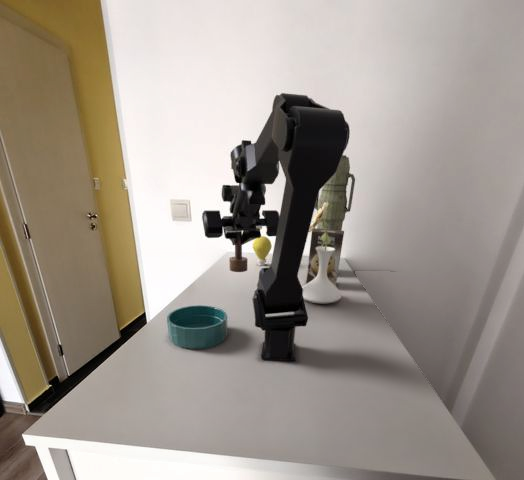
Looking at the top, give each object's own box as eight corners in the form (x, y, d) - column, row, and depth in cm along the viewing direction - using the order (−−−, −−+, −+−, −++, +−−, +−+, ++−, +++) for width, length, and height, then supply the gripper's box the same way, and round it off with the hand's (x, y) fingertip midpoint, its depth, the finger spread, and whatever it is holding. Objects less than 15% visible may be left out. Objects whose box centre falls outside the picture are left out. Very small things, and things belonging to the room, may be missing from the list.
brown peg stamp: (246, 272, 88) (246, 233, 83) (228, 271, 88) (227, 232, 83) (248, 267, 92) (248, 229, 87) (231, 266, 92) (230, 229, 87)
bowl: (221, 351, 64) (221, 330, 62) (161, 347, 65) (158, 326, 63) (231, 325, 75) (230, 306, 73) (178, 322, 75) (177, 303, 73)
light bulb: (250, 262, 123) (250, 234, 118) (267, 262, 125) (268, 234, 120) (255, 267, 117) (255, 238, 112) (273, 266, 119) (274, 237, 114)
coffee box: (305, 286, 101) (310, 231, 93) (307, 280, 106) (313, 227, 98) (335, 289, 99) (343, 233, 91) (336, 283, 104) (344, 229, 97)
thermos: (309, 267, 120) (321, 155, 103) (342, 271, 117) (360, 156, 100) (304, 273, 113) (315, 154, 96) (339, 278, 109) (357, 155, 92)
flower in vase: (307, 290, 98) (317, 197, 86) (345, 297, 93) (361, 200, 81) (289, 303, 88) (296, 200, 76) (330, 313, 83) (345, 204, 71)
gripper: (280, 173, 78) (265, 217, 92) (200, 171, 73) (197, 218, 87) (290, 214, 75) (272, 252, 90) (208, 214, 70) (203, 255, 84)
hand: (237, 243), depth 88 cm, fingers closed on brown peg stamp
